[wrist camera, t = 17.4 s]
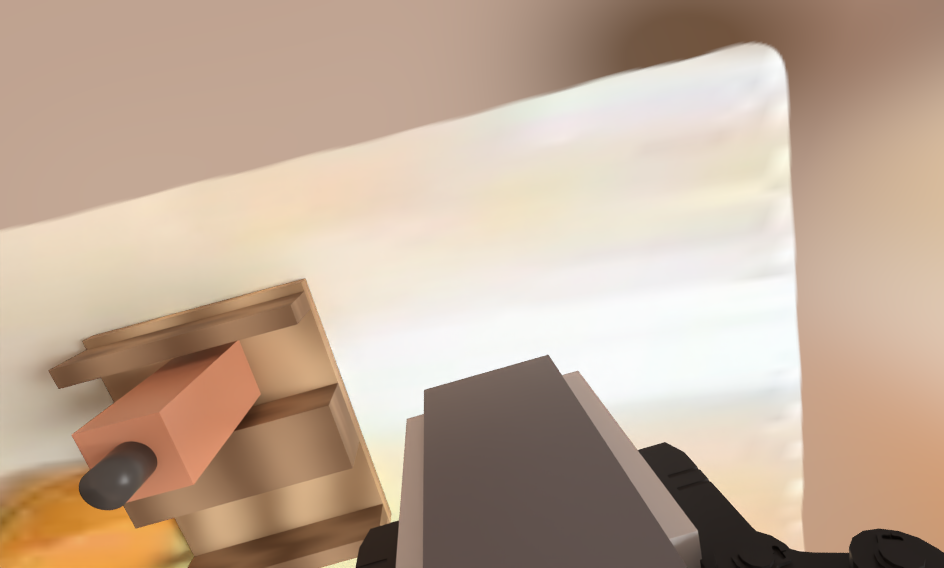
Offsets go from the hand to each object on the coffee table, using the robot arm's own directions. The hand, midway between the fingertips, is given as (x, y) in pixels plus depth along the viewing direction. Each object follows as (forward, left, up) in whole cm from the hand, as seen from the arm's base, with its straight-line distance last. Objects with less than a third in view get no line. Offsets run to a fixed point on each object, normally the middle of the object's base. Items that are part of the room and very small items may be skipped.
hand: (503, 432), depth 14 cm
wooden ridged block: (-17, -6, -17) cm, 25 cm away
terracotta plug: (-17, -1, -16) cm, 23 cm away
